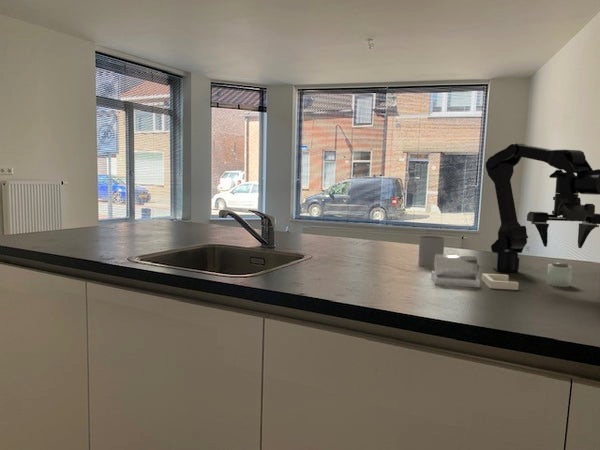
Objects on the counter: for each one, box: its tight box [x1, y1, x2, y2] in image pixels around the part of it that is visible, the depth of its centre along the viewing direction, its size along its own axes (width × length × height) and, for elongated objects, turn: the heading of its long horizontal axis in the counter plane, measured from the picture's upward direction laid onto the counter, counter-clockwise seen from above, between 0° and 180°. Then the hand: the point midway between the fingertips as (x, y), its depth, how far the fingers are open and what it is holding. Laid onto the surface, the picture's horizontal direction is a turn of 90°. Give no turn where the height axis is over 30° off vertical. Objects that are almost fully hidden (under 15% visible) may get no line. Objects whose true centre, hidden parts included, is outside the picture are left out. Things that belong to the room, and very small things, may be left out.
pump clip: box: [481, 273, 519, 291], centre depth 121 cm, size 7×10×2 cm
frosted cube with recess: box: [546, 261, 573, 288], centre depth 122 cm, size 6×6×6 cm
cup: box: [418, 235, 445, 268], centre depth 149 cm, size 8×8×10 cm
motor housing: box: [431, 254, 481, 288], centre depth 123 cm, size 12×10×8 cm
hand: (562, 247), depth 122 cm, fingers open, 9 cm apart
